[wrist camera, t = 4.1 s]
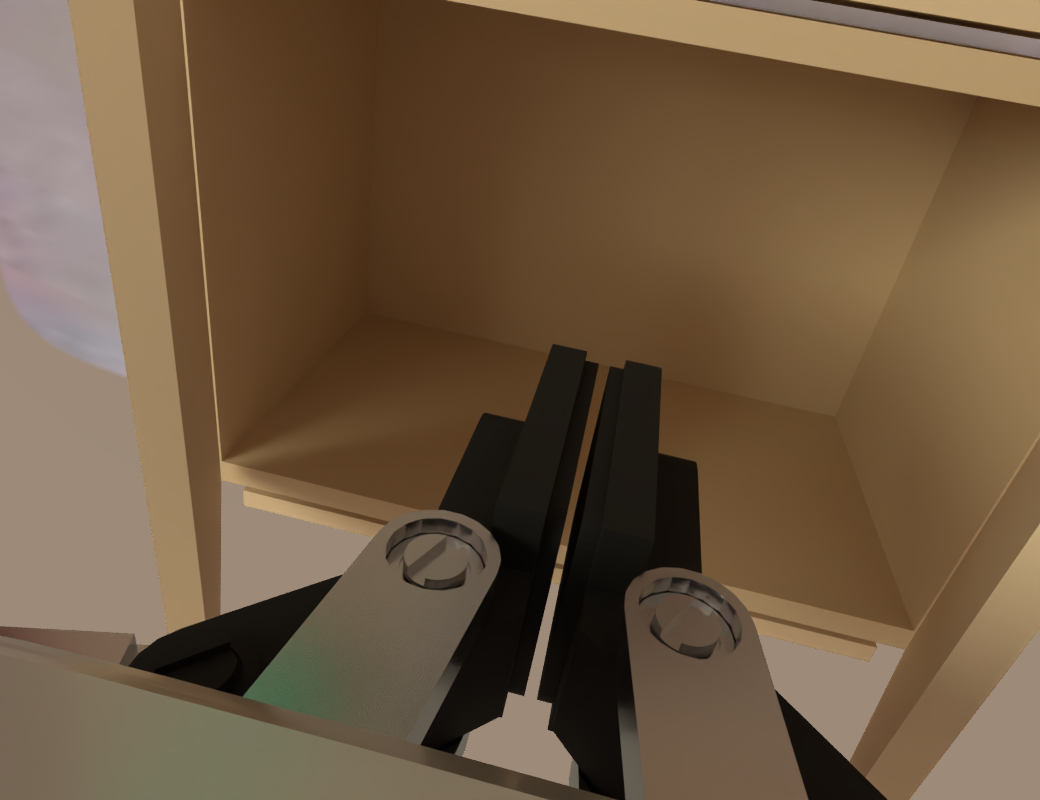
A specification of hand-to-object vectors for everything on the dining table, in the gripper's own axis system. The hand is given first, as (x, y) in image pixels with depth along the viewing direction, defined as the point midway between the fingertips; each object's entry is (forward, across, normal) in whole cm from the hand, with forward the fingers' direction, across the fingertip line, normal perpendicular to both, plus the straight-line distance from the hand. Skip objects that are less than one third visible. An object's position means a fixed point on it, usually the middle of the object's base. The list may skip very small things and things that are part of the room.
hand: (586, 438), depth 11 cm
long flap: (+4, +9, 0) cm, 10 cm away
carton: (+14, 0, 0) cm, 14 cm away
